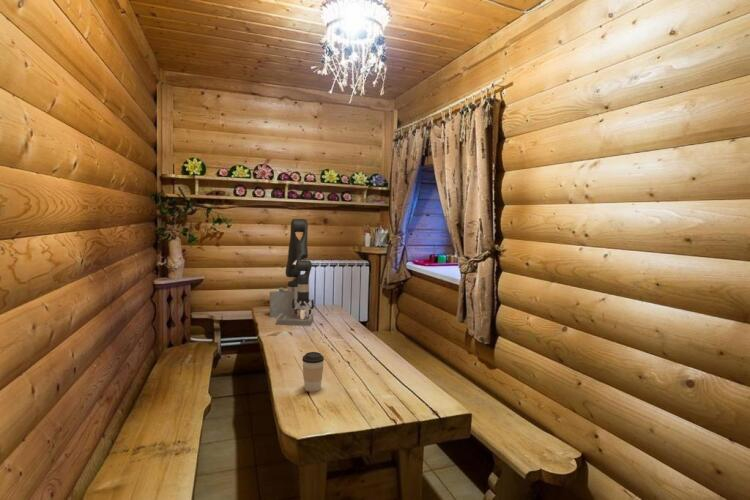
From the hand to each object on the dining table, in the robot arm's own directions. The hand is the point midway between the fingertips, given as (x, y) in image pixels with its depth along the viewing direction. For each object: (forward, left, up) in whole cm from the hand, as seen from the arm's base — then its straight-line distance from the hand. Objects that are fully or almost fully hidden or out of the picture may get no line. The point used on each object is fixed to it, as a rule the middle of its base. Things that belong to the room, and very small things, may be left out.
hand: (302, 314), depth 274 cm
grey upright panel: (-16, -18, -6) cm, 25 cm away
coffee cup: (+100, +22, -6) cm, 103 cm away
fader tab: (0, 0, -2) cm, 2 cm away
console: (0, -5, -6) cm, 7 cm away
